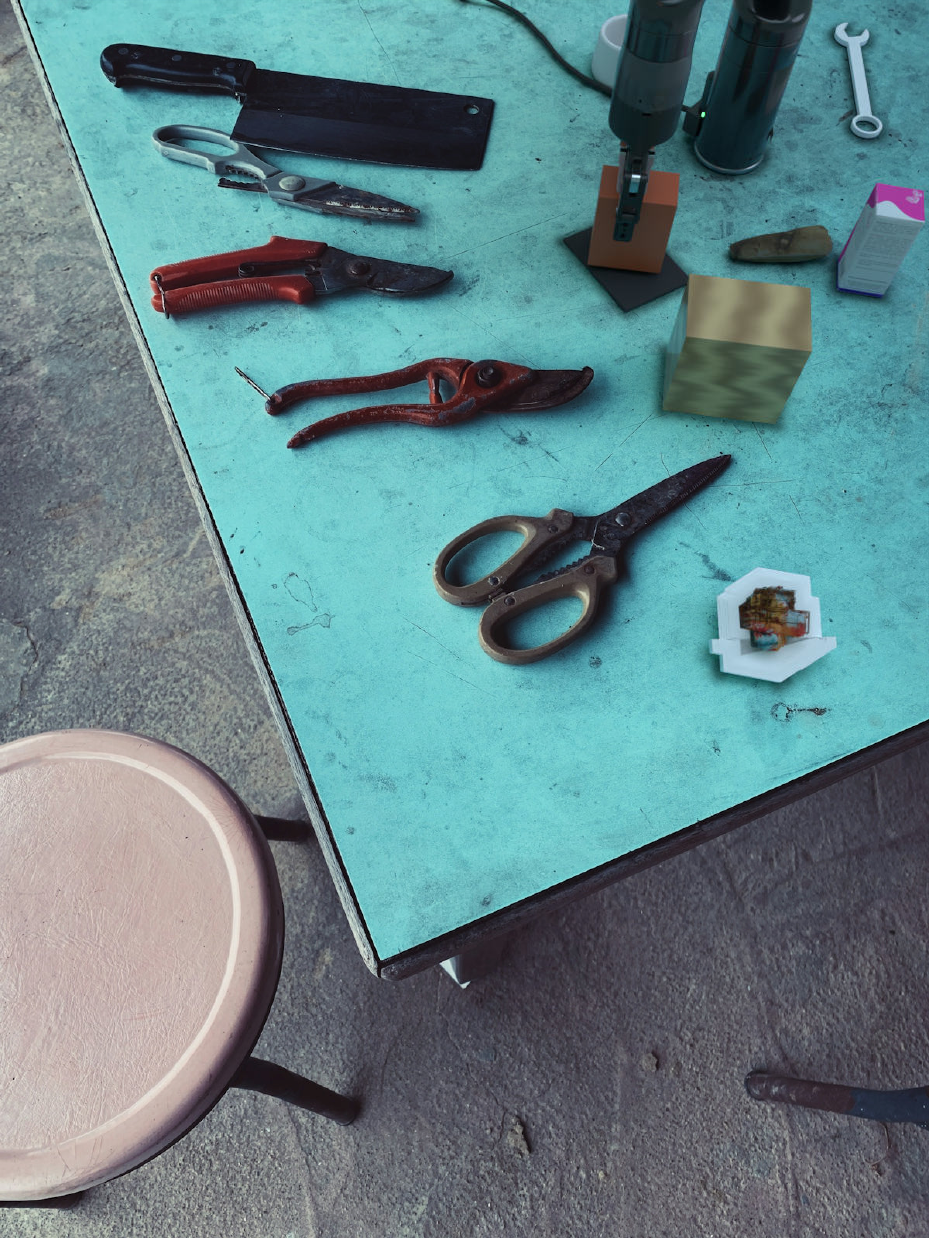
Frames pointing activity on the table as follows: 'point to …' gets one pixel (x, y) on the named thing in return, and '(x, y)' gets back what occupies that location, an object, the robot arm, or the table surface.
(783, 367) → the stand
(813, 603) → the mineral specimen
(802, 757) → the table surface
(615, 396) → the table surface
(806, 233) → the stone
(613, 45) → the mug
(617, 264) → the block
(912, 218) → the supplement box
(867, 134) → the wrench
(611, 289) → the mat
